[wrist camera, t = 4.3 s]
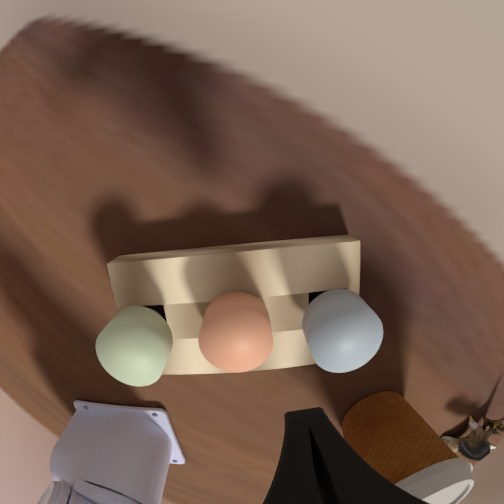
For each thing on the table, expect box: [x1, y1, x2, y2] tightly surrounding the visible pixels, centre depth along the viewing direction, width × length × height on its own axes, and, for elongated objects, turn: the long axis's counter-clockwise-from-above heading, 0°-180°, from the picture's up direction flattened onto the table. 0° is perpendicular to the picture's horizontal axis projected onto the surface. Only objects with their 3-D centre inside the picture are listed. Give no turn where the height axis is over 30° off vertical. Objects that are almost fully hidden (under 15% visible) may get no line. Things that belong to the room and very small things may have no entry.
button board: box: [107, 235, 360, 374], centre depth 18 cm, size 15×8×2 cm, turn 95°
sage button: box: [96, 306, 173, 386], centre depth 16 cm, size 4×4×4 cm
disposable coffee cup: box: [342, 391, 474, 504], centre depth 17 cm, size 10×10×12 cm
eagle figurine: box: [441, 416, 504, 461], centre depth 22 cm, size 8×7×9 cm
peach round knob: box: [198, 291, 273, 372], centre depth 17 cm, size 4×4×4 cm
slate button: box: [302, 289, 383, 373], centre depth 16 cm, size 4×4×4 cm
